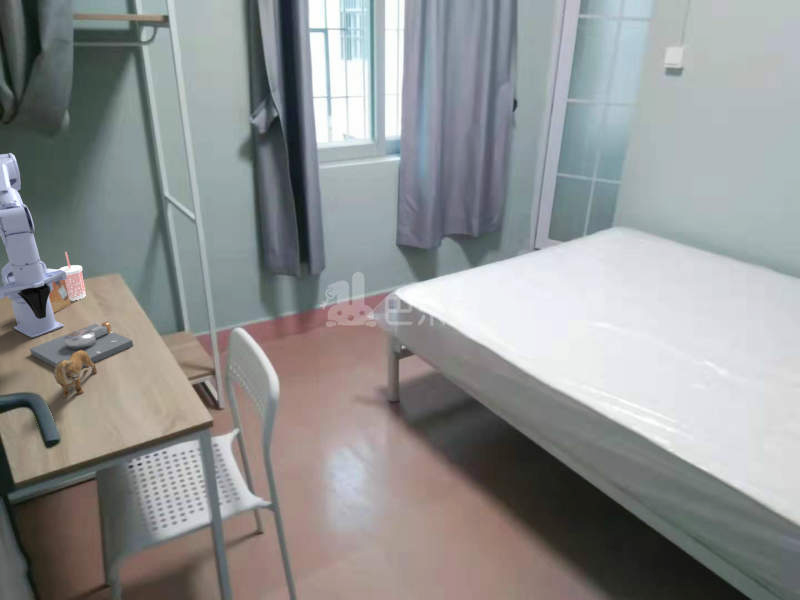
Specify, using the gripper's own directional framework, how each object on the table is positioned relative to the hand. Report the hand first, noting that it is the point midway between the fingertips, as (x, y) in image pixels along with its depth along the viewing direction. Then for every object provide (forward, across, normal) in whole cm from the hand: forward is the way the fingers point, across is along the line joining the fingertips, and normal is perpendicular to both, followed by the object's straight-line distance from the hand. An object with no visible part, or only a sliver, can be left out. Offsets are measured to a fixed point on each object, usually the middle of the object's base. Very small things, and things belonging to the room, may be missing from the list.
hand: (40, 317), depth 131 cm
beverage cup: (+10, +21, +27) cm, 36 cm away
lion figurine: (+10, -4, -20) cm, 23 cm away
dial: (+8, +7, -5) cm, 12 cm away
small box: (+10, +13, +25) cm, 30 cm away
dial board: (+9, +5, -5) cm, 12 cm away
